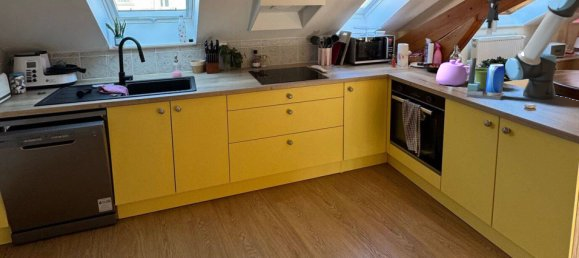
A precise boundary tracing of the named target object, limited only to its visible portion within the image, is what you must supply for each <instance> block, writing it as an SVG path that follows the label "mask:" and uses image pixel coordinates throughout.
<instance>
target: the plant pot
mask: <svg viewBox="0 0 579 258" xmlns="http://www.w3.org/2000/svg"><path fill="white" fill-rule="evenodd" d="M488 68H489V67H486V68H485V67H478V68H477V67H476V69H475V82H480V88H486V82H487V72H488Z"/></svg>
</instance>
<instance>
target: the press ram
mask: <svg viewBox="0 0 579 258" xmlns="http://www.w3.org/2000/svg"><path fill="white" fill-rule="evenodd" d="M477 60H478V59H477V57H470V61H469V62H470V63H469V66H470V71H469V75H468V84H467V86H466V87H467V90H466V92H467V91H468V90H470V91H480V82H476V75H475V69H477Z"/></svg>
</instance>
